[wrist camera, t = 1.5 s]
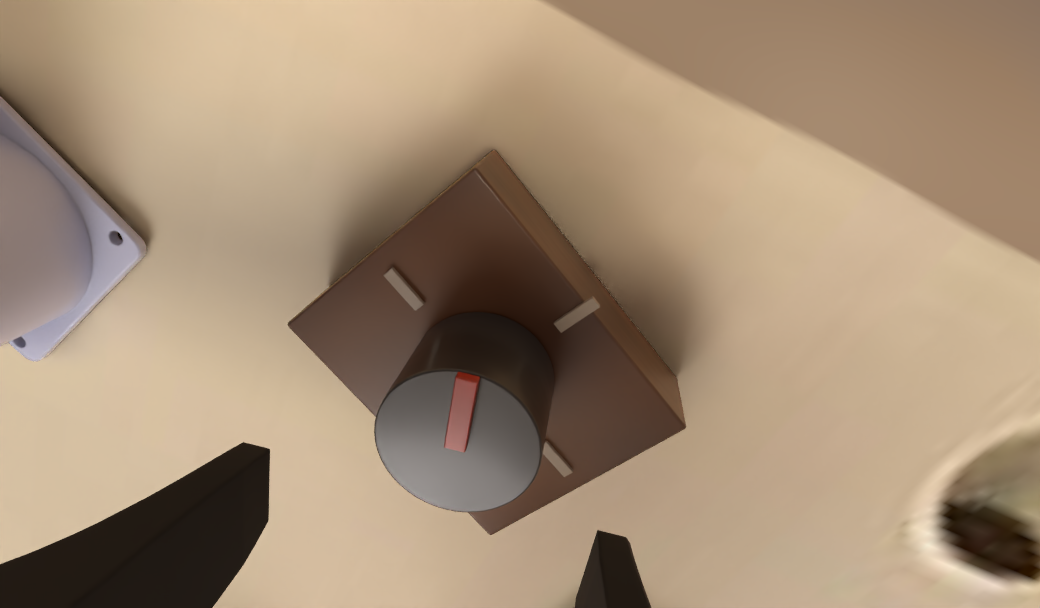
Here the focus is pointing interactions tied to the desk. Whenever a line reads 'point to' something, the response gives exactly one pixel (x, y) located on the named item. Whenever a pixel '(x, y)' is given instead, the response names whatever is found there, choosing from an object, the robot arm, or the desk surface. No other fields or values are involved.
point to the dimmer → (517, 296)
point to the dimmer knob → (468, 414)
